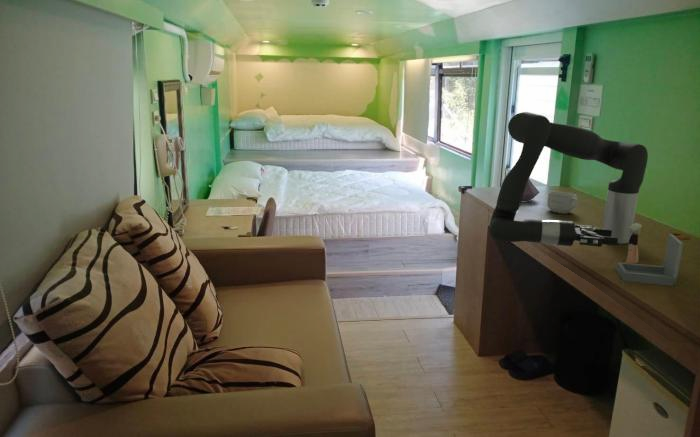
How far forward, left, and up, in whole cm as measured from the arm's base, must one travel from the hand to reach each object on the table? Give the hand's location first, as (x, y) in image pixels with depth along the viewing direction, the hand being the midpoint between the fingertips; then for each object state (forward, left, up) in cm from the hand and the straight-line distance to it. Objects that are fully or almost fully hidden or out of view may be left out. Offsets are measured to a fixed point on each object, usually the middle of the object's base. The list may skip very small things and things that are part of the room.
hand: (614, 237), depth 157 cm
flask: (-79, -22, -8) cm, 83 cm away
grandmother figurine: (0, +6, -8) cm, 10 cm away
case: (+12, +7, -8) cm, 15 cm away
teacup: (-60, -6, -8) cm, 61 cm away
